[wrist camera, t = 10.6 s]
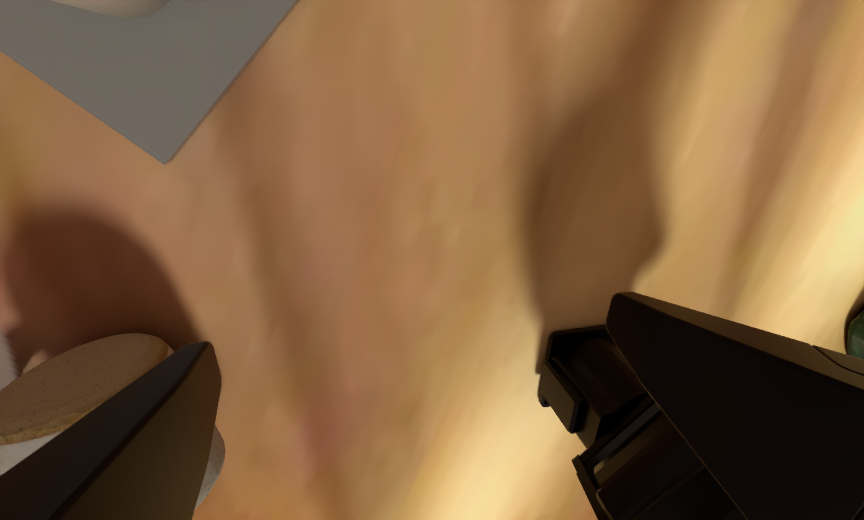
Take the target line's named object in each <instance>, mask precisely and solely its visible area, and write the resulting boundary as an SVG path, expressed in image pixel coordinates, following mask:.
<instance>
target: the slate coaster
mask: <svg viewBox="0 0 864 520" xmlns="http://www.w3.org/2000/svg"><path fill="white" fill-rule="evenodd" d="M299 1H300V0H169V2H168V3H167V4H166V5H165V6H164V7H163V8H161V9H160V10H159V11H157V12H155V13H153V14H151V15H149V16H146V17H142V18H136V19H122V18H114V17H110V16H107V15H103V14H99V13H96V12H92V11H88V10H85V9H81V8H77V7H74V6H70V5H66V4H63V3H59V2H55V1H52V0H0V51H1V52H3V53H4V54H6V55H7V56H9V57H10V58H11V59H13V60H14V61H16V62H17V63H19V64H20V65H22V66H23V67H24V68H26V69H27V70H29V71H30V72H32V73H33V74H35V75H36V76H37V77H39V78H40V79H42V80H43V81H45V82H46V83H48V84H49V85H50V86H52V87H53V88H55V89H56V90H58V91H59V92H60V93H62V94H63V95H65V96H66V97H68V98H69V99H71V100H72V101H73V102H75V103H76V104H78V105H79V106H81V107H82V108H84V109H85V110H86V111H88V112H89V113H91V114H92V115H94V116H95V117H97V118H98V119H99V120H101V121H102V122H104V123H105V124H107V125H108V126H109V127H111V128H112V129H114V130H115V131H117V132H118V133H120V134H121V135H122V136H124V137H125V138H127V139H128V140H130V141H131V142H133V143H134V144H135V145H137V146H138V147H140V148H141V149H143V150H144V151H146V152H147V153H148V154H150V155H151V156H153V157H154V158H156V159H157V160H158V161H160V162H161V163H163V164H164V165H165V164H167V163H169V162H171V161H172V160H173V158H174V157H175V156H176V155H177V153H178V152H179V151H180V150H181V148H182V147H183V146H184V145H185V143H186V142H187V141H188V140H189V138H190V137H191V136H192V135H193V133H194V132H195V131H196V130H197V128H198V127H199V126H200V125H201V123H202V122H203V121H204V120H205V118H206V117H207V116H208V115H209V113H210V112H211V111H212V110H213V108H214V107H215V106H216V105H217V103H218V102H219V101H220V100H221V98H222V97H223V96H224V95H225V93H226V92H227V91H228V90H229V88H230V87H231V86H232V85H233V83H234V82H235V81H236V80H237V78H238V77H239V76H240V75H241V73H242V72H243V71H244V70H245V68H246V67H247V66H248V65H249V63H250V62H251V61H252V60H253V58H254V57H255V56H256V55H257V53H258V52H259V51H260V50H261V48H262V47H263V46H264V45H265V43H266V42H267V41H268V40H269V38H270V37H271V36H272V35H273V33H274V32H275V31H276V30H277V28H278V27H279V26H280V25H281V23H282V22H283V21H284V20H285V18H286V17H287V16H288V15H289V13H290V12H291V11H292V10H293V8H294V7H295V6H296V5H297V3H298V2H299Z"/></svg>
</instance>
